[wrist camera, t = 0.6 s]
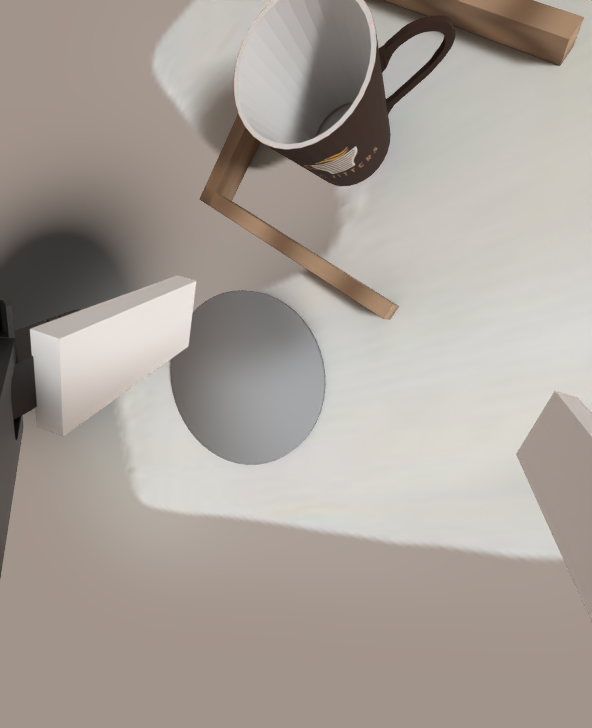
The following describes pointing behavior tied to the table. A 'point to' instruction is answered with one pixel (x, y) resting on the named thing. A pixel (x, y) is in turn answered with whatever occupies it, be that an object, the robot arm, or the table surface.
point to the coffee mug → (324, 84)
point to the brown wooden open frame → (459, 3)
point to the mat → (249, 378)
